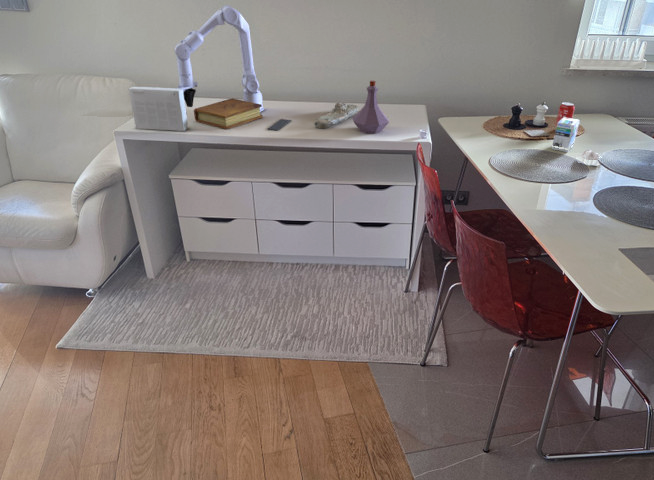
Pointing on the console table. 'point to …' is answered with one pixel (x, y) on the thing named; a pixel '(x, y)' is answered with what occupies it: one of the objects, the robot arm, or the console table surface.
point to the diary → (228, 113)
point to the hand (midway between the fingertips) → (189, 106)
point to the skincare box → (158, 108)
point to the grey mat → (279, 124)
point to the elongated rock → (337, 115)
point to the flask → (371, 113)
